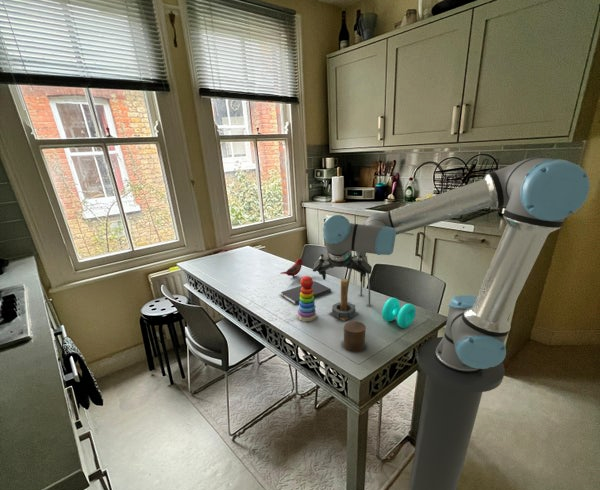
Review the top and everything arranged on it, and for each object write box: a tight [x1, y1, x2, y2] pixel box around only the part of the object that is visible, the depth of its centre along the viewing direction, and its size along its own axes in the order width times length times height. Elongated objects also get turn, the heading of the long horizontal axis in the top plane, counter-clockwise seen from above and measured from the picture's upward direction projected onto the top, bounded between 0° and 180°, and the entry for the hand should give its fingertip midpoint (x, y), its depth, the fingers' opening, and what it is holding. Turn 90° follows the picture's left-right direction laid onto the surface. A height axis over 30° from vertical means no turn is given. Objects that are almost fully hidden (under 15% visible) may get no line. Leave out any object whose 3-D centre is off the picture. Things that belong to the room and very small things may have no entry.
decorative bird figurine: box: [280, 257, 304, 279], centre depth 171 cm, size 3×18×10 cm, turn 136°
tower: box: [330, 278, 358, 322], centre depth 132 cm, size 8×8×16 cm
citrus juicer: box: [347, 251, 371, 307], centre depth 138 cm, size 11×10×30 cm
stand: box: [343, 320, 367, 353], centre depth 113 cm, size 8×8×8 cm
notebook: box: [280, 280, 331, 305], centre depth 155 cm, size 13×2×21 cm
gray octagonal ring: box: [331, 301, 356, 319], centre depth 134 cm, size 10×10×2 cm
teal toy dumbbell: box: [381, 297, 417, 329], centre depth 125 cm, size 10×10×10 cm
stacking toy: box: [297, 275, 317, 322], centre depth 130 cm, size 8×8×19 cm
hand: (342, 277), depth 117 cm, fingers open, 13 cm apart
